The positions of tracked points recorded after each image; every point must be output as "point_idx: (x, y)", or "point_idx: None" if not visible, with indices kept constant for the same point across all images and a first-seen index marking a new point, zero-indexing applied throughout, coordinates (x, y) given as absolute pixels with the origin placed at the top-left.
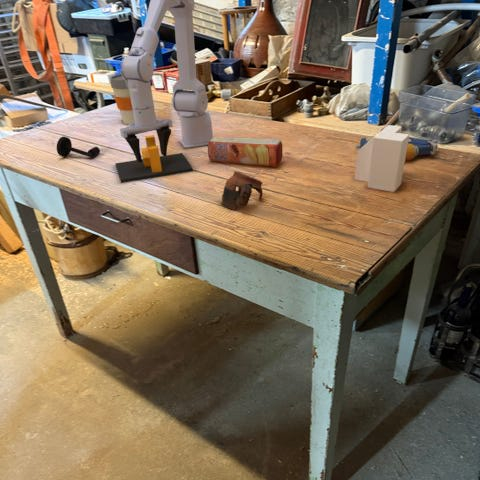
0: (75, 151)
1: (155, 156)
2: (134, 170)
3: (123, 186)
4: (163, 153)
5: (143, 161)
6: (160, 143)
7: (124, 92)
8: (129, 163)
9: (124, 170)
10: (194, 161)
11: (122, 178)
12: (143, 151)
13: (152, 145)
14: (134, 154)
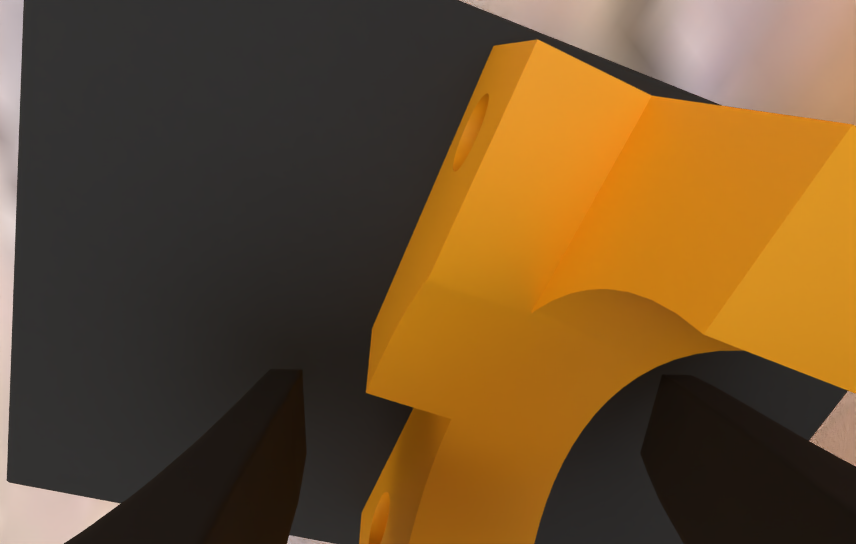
0: None
1: None
2: (222, 349)
3: (33, 532)
4: (659, 456)
5: (434, 189)
6: (775, 505)
7: None
8: (251, 57)
9: (106, 270)
10: (851, 432)
11: (31, 465)
12: (470, 263)
13: (687, 327)
14: (222, 416)
